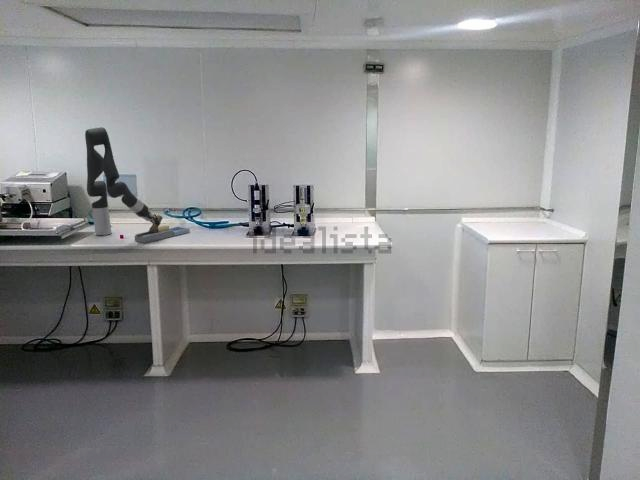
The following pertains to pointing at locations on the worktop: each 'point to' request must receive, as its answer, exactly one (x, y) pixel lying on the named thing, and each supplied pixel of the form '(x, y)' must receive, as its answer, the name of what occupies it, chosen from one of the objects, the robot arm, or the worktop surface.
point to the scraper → (154, 226)
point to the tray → (179, 230)
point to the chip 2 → (165, 227)
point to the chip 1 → (160, 229)
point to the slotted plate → (153, 236)
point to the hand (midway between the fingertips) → (157, 224)
